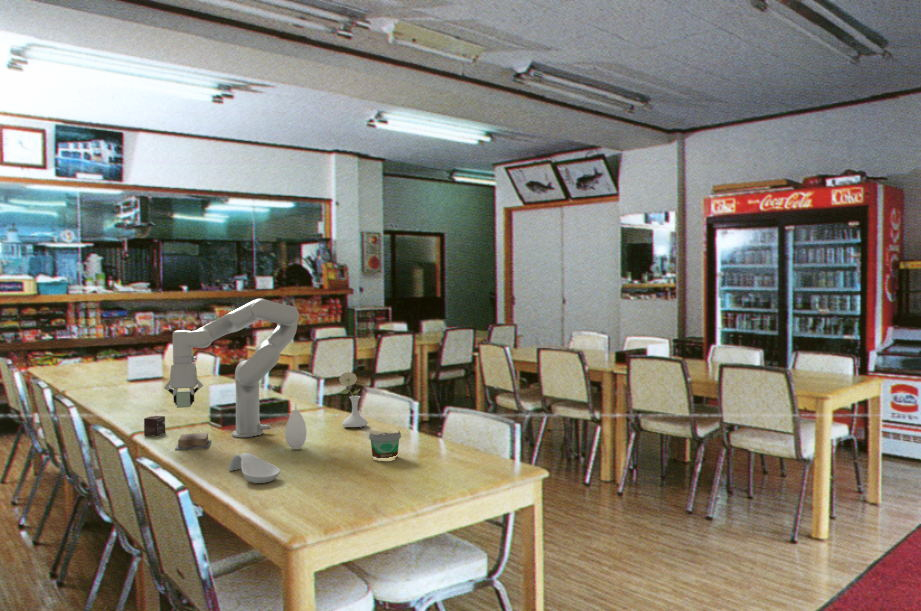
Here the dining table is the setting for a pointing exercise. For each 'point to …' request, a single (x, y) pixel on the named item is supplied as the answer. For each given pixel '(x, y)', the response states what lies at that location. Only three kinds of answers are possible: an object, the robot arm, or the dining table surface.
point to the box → (154, 425)
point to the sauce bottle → (295, 430)
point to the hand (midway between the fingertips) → (184, 403)
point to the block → (183, 399)
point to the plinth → (193, 441)
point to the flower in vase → (354, 418)
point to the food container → (385, 444)
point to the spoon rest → (254, 468)
